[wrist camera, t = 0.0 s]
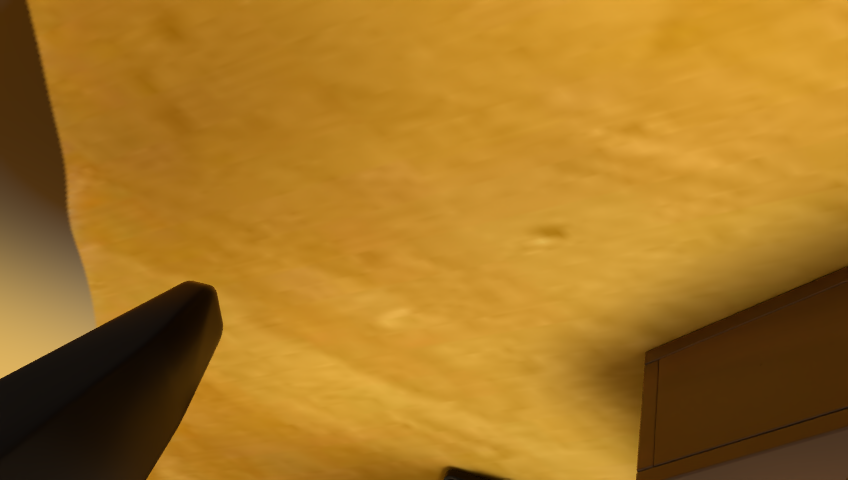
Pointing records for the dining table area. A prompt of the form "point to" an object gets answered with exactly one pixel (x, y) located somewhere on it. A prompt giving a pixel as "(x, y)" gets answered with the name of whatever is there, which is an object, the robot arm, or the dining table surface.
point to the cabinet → (753, 393)
